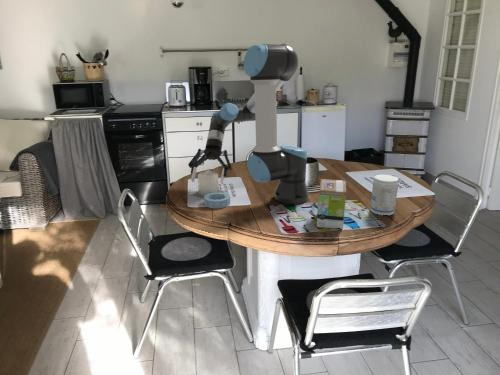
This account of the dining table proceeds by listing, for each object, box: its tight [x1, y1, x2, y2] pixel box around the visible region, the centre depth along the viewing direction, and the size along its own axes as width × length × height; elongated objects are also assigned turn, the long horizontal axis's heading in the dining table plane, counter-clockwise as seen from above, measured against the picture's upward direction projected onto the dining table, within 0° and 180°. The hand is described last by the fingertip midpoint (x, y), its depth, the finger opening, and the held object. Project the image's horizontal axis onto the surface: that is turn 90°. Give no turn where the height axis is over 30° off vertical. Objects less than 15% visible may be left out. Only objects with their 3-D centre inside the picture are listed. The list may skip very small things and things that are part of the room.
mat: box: [190, 189, 227, 199], centre depth 189 cm, size 12×12×1 cm
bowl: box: [203, 192, 231, 209], centre depth 176 cm, size 11×11×4 cm
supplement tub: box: [369, 174, 399, 216], centre depth 167 cm, size 10×10×15 cm
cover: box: [197, 169, 219, 196], centre depth 188 cm, size 9×9×11 cm
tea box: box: [316, 178, 347, 230], centre depth 158 cm, size 15×10×15 cm, turn 168°
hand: (207, 181), depth 188 cm, fingers open, 13 cm apart
